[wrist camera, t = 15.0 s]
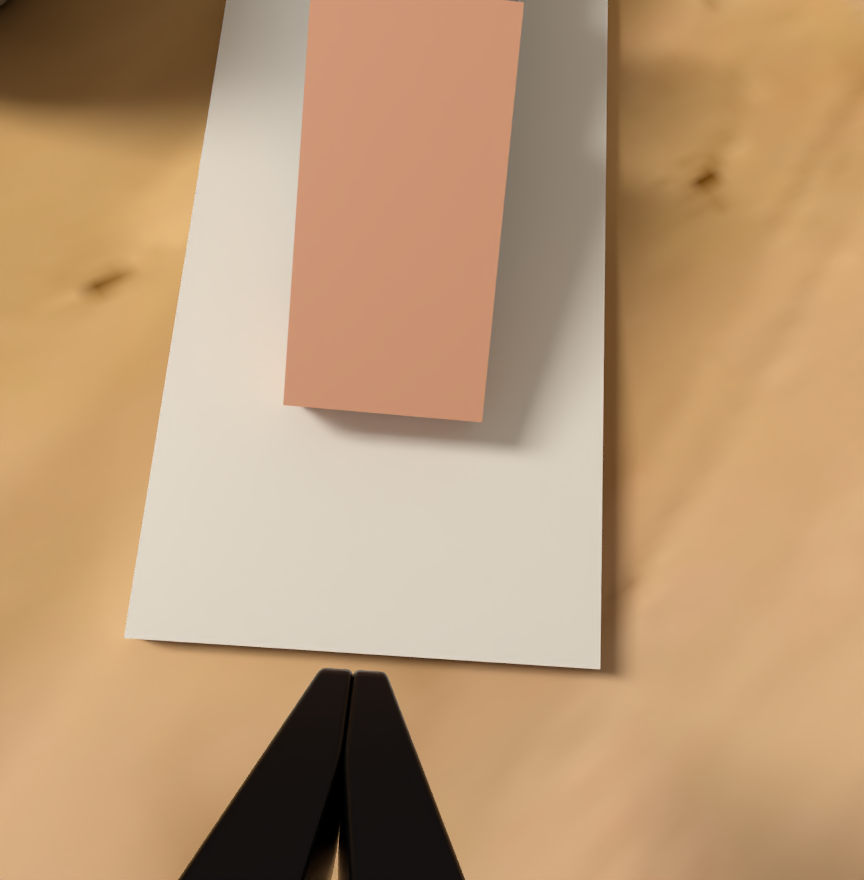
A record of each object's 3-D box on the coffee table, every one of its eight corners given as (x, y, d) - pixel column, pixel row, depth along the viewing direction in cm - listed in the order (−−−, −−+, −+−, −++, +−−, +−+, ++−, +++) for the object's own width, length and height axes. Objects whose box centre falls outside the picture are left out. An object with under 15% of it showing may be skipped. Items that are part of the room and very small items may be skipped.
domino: (481, 422, 19) (523, 2, 17) (283, 405, 18) (311, -22, 17) (475, 416, 20) (513, 31, 19) (292, 400, 20) (319, 8, 19)
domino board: (591, 667, 20) (600, 669, 19) (134, 637, 19) (123, 638, 18) (601, -60, 25) (608, -81, 24) (250, -101, 25) (246, -125, 24)
